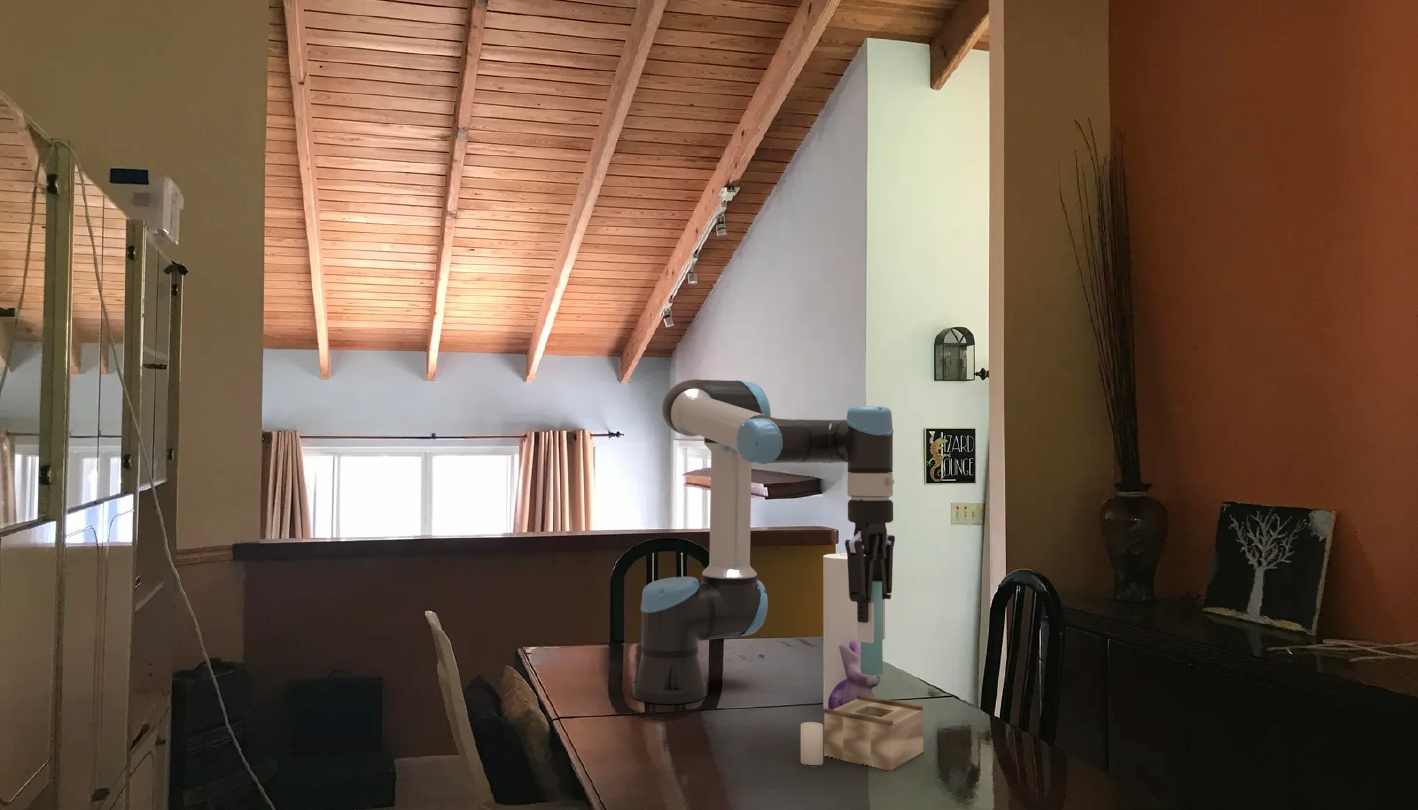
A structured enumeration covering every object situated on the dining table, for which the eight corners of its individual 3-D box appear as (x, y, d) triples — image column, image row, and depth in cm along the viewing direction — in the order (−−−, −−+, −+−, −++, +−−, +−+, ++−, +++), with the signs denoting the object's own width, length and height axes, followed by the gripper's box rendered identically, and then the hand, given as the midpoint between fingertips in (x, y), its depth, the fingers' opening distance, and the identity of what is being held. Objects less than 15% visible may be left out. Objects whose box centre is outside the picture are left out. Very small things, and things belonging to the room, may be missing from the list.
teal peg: (856, 673, 163) (856, 582, 163) (867, 669, 166) (866, 579, 166) (876, 676, 161) (875, 583, 161) (886, 672, 163) (885, 581, 164)
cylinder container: (871, 716, 185) (870, 556, 186) (821, 713, 187) (821, 555, 188) (873, 704, 194) (872, 551, 195) (825, 701, 196) (825, 550, 197)
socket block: (824, 756, 162) (824, 709, 162) (859, 738, 171) (859, 694, 172) (890, 770, 154) (890, 722, 155) (923, 751, 164) (922, 705, 164)
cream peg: (796, 763, 158) (796, 725, 158) (808, 757, 161) (808, 720, 161) (815, 767, 156) (815, 729, 156) (827, 761, 159) (827, 724, 159)
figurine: (878, 733, 174) (878, 648, 175) (822, 727, 178) (822, 644, 179) (887, 719, 183) (887, 638, 184) (834, 714, 187) (834, 634, 187)
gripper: (867, 501, 156) (868, 650, 155) (912, 497, 169) (913, 635, 167) (825, 499, 160) (826, 645, 159) (873, 496, 173) (874, 630, 172)
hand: (871, 639), depth 163 cm, fingers closed on teal peg, 3 cm apart
